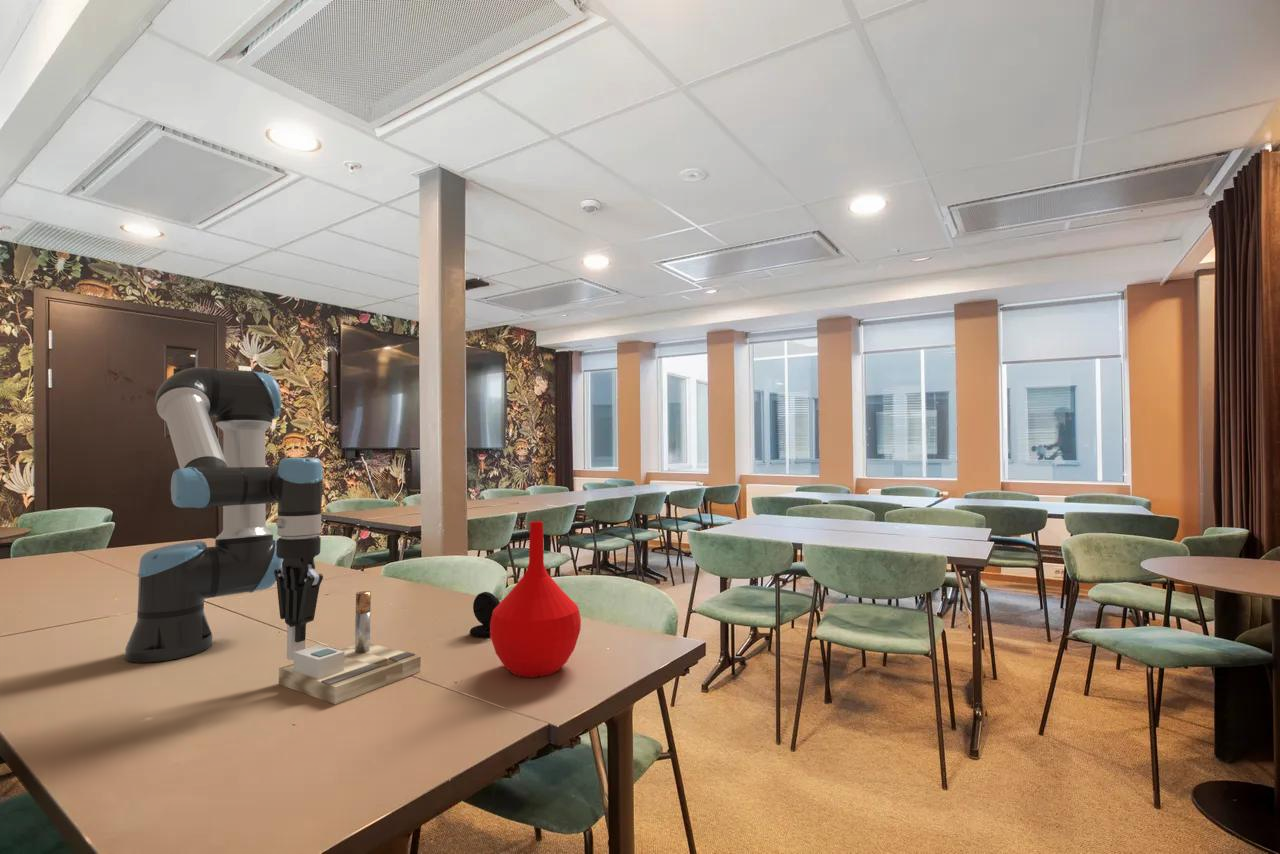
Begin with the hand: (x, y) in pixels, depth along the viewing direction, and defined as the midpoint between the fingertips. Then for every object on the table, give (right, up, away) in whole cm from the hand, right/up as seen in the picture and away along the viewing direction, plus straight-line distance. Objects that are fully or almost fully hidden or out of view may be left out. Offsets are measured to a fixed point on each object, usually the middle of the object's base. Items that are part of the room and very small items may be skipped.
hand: (295, 657), depth 115 cm
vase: (+46, -5, +5) cm, 47 cm away
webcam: (+30, -6, +29) cm, 42 cm away
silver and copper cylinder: (+10, -1, +7) cm, 12 cm away
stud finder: (+7, -1, -4) cm, 8 cm away
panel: (+11, -4, 0) cm, 11 cm away
